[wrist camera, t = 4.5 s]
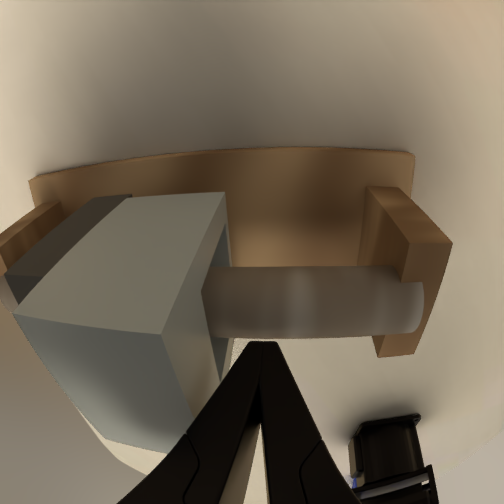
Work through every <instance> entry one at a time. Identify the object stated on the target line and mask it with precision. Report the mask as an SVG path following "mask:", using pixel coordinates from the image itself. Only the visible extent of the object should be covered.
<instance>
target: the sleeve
mask: <svg viewBox="0 0 504 504" xmlns="http://www.w3.org/2000/svg"><path fill="white" fill-rule="evenodd" d="M209 267H232V258H231V248H230V238H229V228H228V218H227V208H226V197H225V192H208V193H189V194H173V195H158V196H145V197H133V198H126V199H125V200H124V201H123V202H121V203H120V204H119V205H118V206H117V207H116V208H115V209H113V210H112V211H111V212H110V213H109V214H108V215H107V216H106V217H104V218H103V219H102V220H101V221H100V222H99V223H98V224H97V225H96V226H95V227H94V228H92V229H91V230H90V231H89V232H88V233H87V234H86V235H85V236H84V237H83V238H82V239H81V240H80V241H79V242H78V243H77V244H76V245H75V246H74V247H73V248H72V249H71V250H70V251H69V252H68V253H67V254H66V255H65V256H64V257H63V258H62V259H61V260H60V261H59V262H58V263H57V264H56V265H55V266H54V267H53V268H52V269H51V270H50V271H49V272H48V273H47V274H46V275H45V276H44V277H43V278H42V280H41V281H40V282H39V283H38V284H37V285H36V286H35V287H34V288H33V289H32V291H31V292H30V293H29V294H28V295H27V296H26V297H25V299H24V300H23V301H22V302H21V303H20V304H19V306H18V307H17V308H16V309H15V310H14V312H13V313H12V314H13V316H14V317H15V319H16V321H17V323H18V324H19V326H20V328H21V330H22V331H23V333H24V335H25V336H26V338H27V339H28V341H29V342H30V344H31V346H32V347H33V349H34V350H35V352H36V353H37V355H38V356H39V358H40V359H41V361H42V362H43V364H44V365H45V367H46V368H47V369H48V371H49V372H50V374H51V375H52V376H53V378H54V379H55V380H56V382H57V383H58V384H59V386H60V387H61V388H62V390H63V391H64V392H65V394H66V395H67V396H68V397H69V398H70V400H71V401H72V402H73V403H74V405H75V406H76V407H77V408H78V409H79V411H80V412H81V413H82V414H83V415H84V416H85V418H86V419H87V420H88V421H89V422H90V423H91V424H92V425H93V426H94V428H95V429H96V430H97V431H98V432H99V433H100V434H101V435H102V436H103V437H104V438H105V439H108V440H111V441H115V442H118V443H122V444H126V445H130V446H134V447H138V448H143V449H147V450H152V451H156V452H162V453H167V454H168V453H169V452H170V451H171V450H172V448H173V447H174V446H175V445H176V443H177V442H178V441H179V439H180V438H181V437H182V435H183V434H186V430H187V429H188V428H189V426H190V425H191V423H192V422H193V421H194V419H195V418H196V417H197V415H198V414H199V412H200V411H201V410H202V408H203V407H204V406H205V404H206V403H207V401H208V400H209V399H210V397H211V396H212V394H213V393H214V392H215V390H216V389H217V387H218V386H219V384H220V383H221V382H222V380H223V379H224V377H225V376H226V374H227V373H228V372H229V368H230V362H231V356H232V350H233V344H234V338H220V337H210V335H209V331H208V326H207V321H206V316H205V311H204V306H203V301H202V296H201V289H202V286H203V283H204V280H205V278H206V275H207V272H208V269H209Z"/></svg>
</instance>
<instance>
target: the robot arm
mask: <svg viewBox="0 0 504 504" xmlns="http://www.w3.org/2000/svg"><path fill="white" fill-rule="evenodd" d="M420 420H421V416H420V415H413V416H407V417H401V418H395V419H388V420H381V421H373V422H365V423H362V424H361V425H360V427H359V429H358V431H357V432H356V434H355V436H354V437H353V438H352V440H351V442H350V444H349V445H348V450H349V462H350V474H351V477H352V478H356V482H357V487H356V488H352V489H351V488H350V487H349V485H348V484H347V482H346V481H345V479H344V477H343V476H342V474H341V473H340V471H339V470H338V468H337V466H336V464H335V462H334V461H333V459H332V457H331V455H330V453H329V451H328V449H327V447H326V445H325V443H324V441H323V440H322V437H321V435H320V433H319V431H318V428H317V426H316V424H315V422H314V420H313V418H312V416H311V414H310V411H309V409H308V407H307V405H306V403H305V401H304V399H303V397H302V394H301V392H300V390H299V388H298V386H297V384H296V382H295V379H294V377H293V375H292V373H291V371H290V369H289V367H288V364H287V362H286V360H285V358H284V356H283V354H282V351H281V349H280V347H279V345H278V343H277V342H275V341H264V342H263V341H250V342H249V343H248V344H247V345H246V347H245V348H244V350H243V351H242V353H241V354H240V356H239V357H238V359H237V360H236V361H235V363H234V364H233V366H232V367H231V369H230V370H229V372H228V373H227V374H226V376H225V377H224V379H223V380H222V382H221V383H220V384H219V386H218V387H217V389H216V390H215V392H214V393H213V394H212V396H211V397H210V399H209V400H208V401H207V403H206V404H205V406H204V407H203V408H202V410H201V411H200V412H199V414H198V415H197V417H196V418H195V419H194V421H193V422H192V423H191V425H190V426H189V428H188V429H187V430H186V434H183V435H182V437H181V438H180V439H179V441H178V442H177V443H176V445H175V446H174V447H173V448H172V450H171V451H170V452H169V453H168V454H167V456H166V457H165V458H164V459H163V460H162V461H161V462H160V463H159V464H158V465H157V466H156V467H155V469H154V470H153V471H152V472H151V473H150V474H148V475H147V476H146V477H145V478H144V479H143V480H142V481H141V482H140V483H139V484H138V485H137V486H136V487H135V488H134V489H133V490H132V491H130V492H129V493H128V494H127V495H126V496H125V497H124V498H123V499H121V500H120V501H119V502H118V503H117V504H243V503H244V498H245V494H246V490H247V485H248V481H249V476H250V472H251V467H252V462H253V458H254V453H255V448H256V444H257V439H258V434H259V429H260V424H261V432H262V444H263V456H264V468H265V479H266V491H267V503H268V504H439V500H438V495H437V489H436V484H435V478H434V473H433V469H432V464H430V465H428V466H426V467H424V463H423V458H422V453H421V448H420V443H419V439H418V435H417V430H416V425H417V424H418V422H419V421H420ZM427 480H429V483H427V484H424V485H422V483H421V482H424V481H427Z"/></svg>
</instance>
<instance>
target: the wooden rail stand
mask: <svg viewBox="0 0 504 504" xmlns="http://www.w3.org/2000/svg"><path fill="white" fill-rule="evenodd" d="M414 165H415V156H414V155H412V154H410V153H409V152H399V151H387V150H373V149H355V148H327V147H269V148H241V149H222V150H208V151H195V152H184V153H174V154H164V155H156V156H147V157H140V158H132V159H125V160H118V161H112V162H106V163H100V164H94V165H88V166H83V167H78V168H72V169H67V170H63V171H58V172H53V173H49V174H44V175H40V176H36V177H34V178H32V179H31V180H29V181H28V182H29V186H30V190H31V194H32V197H33V201H34V205H35V209H33V210H32V211H30V212H29V213H28V214H26V215H25V216H23V217H22V218H21V219H19V220H18V221H17V222H15V223H14V224H13V225H11V226H10V227H9V228H7V229H6V230H5V231H3V232H2V233H1V234H0V299H1V302H2V304H3V306H4V307H5V308H6V309H7V310H8V311H9V312H12V313H13V312H14V310H15V309H16V308H17V307H18V306H19V305H18V303H17V301H16V299H15V297H14V295H13V293H12V291H11V289H10V287H9V285H8V283H7V281H6V279H5V276H4V273H5V272H6V271H7V270H8V269H9V268H10V267H11V266H12V265H14V264H15V263H16V262H17V261H18V260H19V259H20V258H21V257H22V256H23V255H24V254H25V253H26V252H28V251H29V250H30V249H31V248H32V247H33V246H34V245H35V244H37V243H38V242H39V241H40V240H41V239H42V238H43V237H45V236H46V235H47V234H48V233H49V232H51V231H52V230H53V229H54V228H55V227H57V226H58V225H59V224H60V223H61V222H63V221H64V220H65V219H66V218H68V217H69V216H70V215H71V214H73V213H74V212H75V211H77V210H78V209H79V208H80V207H82V206H83V205H84V204H86V203H87V202H88V201H90V200H91V199H92V198H94V197H103V196H113V195H123V194H132V197H145V196H158V195H173V194H189V193H208V192H225V197H226V208H227V218H228V228H229V238H230V248H231V258H232V267H209V269H208V272H207V275H206V278H205V280H204V283H203V286H202V289H201V296H202V301H203V306H204V311H205V316H206V321H207V326H208V331H209V335H210V337H220V338H253V339H308V338H340V337H361V336H372V339H373V342H374V346H375V350H376V353H377V357H378V358H381V357H391V356H401V355H410V354H414V352H415V350H416V348H417V346H418V343H419V341H420V339H421V336H422V334H423V331H424V329H425V326H426V324H427V321H428V319H429V316H430V314H431V311H432V308H433V305H434V303H435V300H436V297H437V294H438V291H439V288H440V285H441V282H442V279H443V276H444V273H445V269H446V266H447V263H448V259H449V256H450V252H451V248H452V245H453V243H452V242H451V241H450V239H449V238H448V237H447V236H446V235H445V234H444V233H443V232H442V231H441V230H440V228H439V227H438V226H437V225H436V224H435V223H434V222H433V221H432V220H431V219H430V218H429V217H428V216H427V215H426V214H425V213H424V212H423V211H422V210H421V209H420V208H419V207H418V206H417V205H416V204H415V203H414V202H413V201H412V200H411V199H410V198H411V191H412V183H413V175H414ZM14 318H15V317H14Z"/></svg>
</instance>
